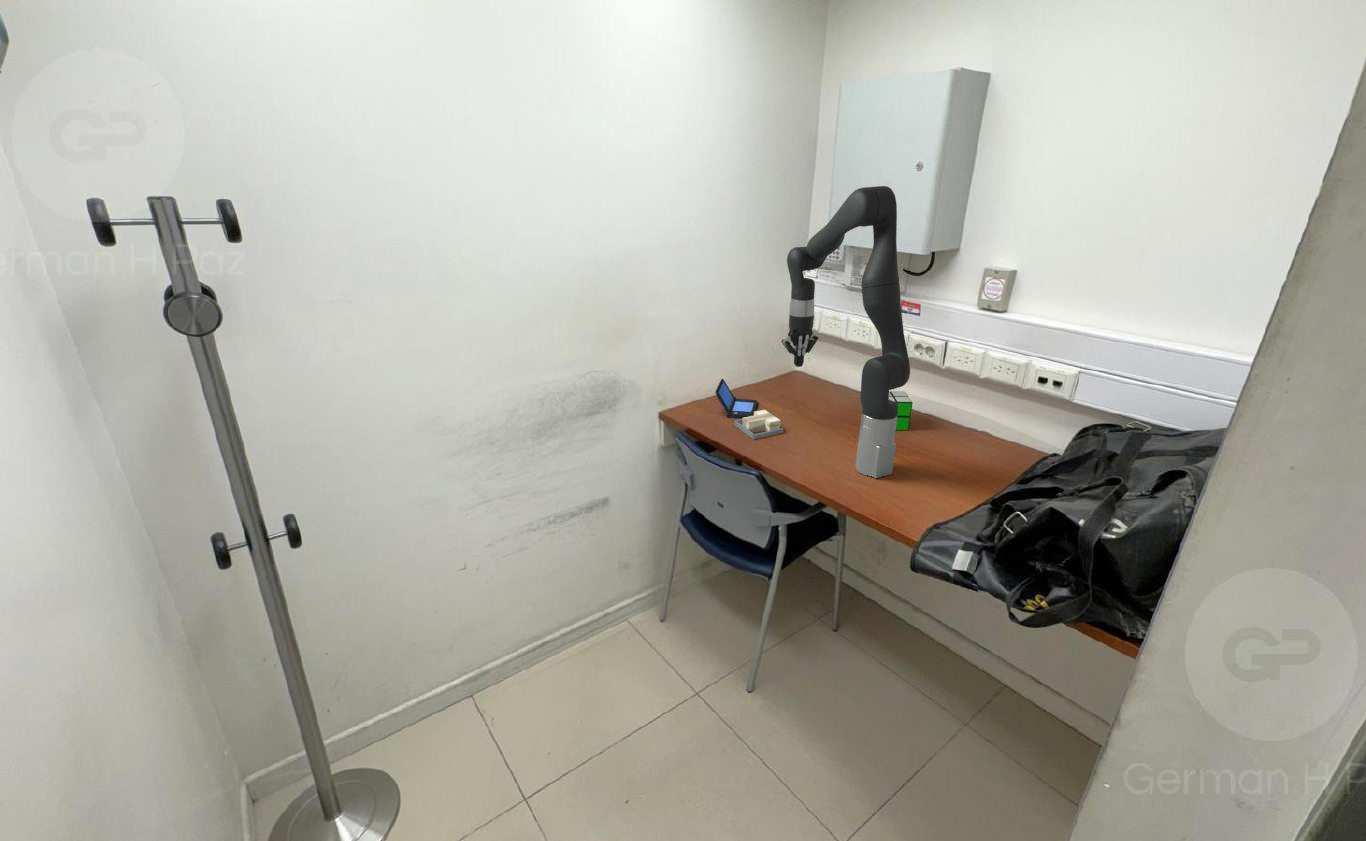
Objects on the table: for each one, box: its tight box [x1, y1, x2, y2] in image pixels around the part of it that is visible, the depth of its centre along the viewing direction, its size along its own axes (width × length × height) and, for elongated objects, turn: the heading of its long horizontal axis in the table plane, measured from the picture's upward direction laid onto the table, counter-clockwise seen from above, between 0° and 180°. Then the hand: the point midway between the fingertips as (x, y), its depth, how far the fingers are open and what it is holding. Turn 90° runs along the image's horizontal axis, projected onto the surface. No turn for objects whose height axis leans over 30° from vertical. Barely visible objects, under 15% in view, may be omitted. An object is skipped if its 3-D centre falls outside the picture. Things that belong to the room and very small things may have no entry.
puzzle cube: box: [889, 390, 913, 432], centre depth 190 cm, size 10×10×10 cm
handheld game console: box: [714, 378, 758, 419], centre depth 204 cm, size 16×13×9 cm
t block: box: [741, 409, 782, 434], centre depth 190 cm, size 10×10×4 cm
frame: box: [733, 418, 784, 441], centre depth 190 cm, size 13×11×2 cm
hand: (798, 366), depth 188 cm, fingers closed
